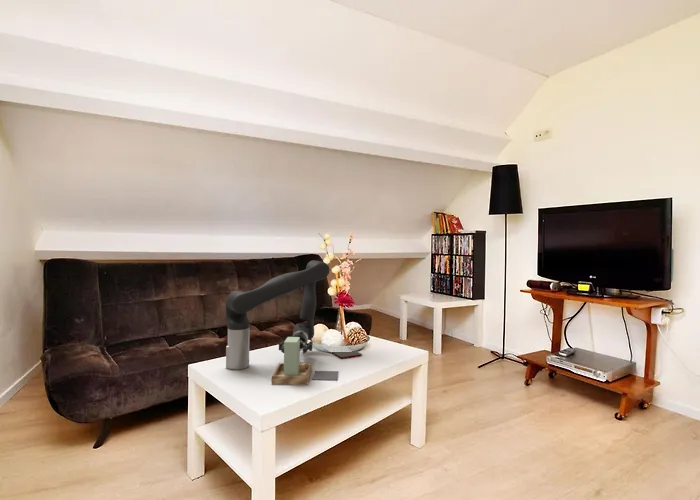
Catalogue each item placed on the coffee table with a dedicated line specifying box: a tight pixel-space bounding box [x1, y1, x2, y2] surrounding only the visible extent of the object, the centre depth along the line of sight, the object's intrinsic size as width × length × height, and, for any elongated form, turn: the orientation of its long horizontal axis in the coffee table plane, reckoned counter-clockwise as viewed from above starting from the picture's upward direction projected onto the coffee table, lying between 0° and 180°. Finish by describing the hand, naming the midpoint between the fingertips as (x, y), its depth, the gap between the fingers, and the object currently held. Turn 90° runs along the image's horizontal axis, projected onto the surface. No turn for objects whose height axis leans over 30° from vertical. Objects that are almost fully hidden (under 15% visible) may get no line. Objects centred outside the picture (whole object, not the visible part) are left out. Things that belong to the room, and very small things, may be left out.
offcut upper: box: [299, 362, 306, 369], centre depth 161 cm, size 6×3×2 cm, turn 89°
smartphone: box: [330, 350, 363, 360], centre depth 195 cm, size 12×2×25 cm
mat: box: [312, 370, 339, 381], centre depth 159 cm, size 10×10×1 cm
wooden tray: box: [271, 362, 313, 386], centre depth 157 cm, size 14×15×3 cm
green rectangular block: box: [283, 336, 301, 376], centre depth 155 cm, size 5×8×15 cm, turn 179°
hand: (293, 350), depth 158 cm, fingers open, 8 cm apart
